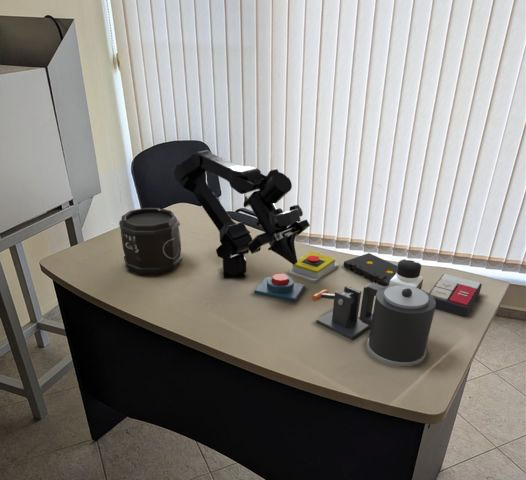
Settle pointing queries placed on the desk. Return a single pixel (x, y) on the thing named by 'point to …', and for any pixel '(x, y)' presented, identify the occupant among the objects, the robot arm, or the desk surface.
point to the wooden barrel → (151, 241)
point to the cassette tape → (372, 268)
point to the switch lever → (331, 295)
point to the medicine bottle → (408, 274)
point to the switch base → (344, 315)
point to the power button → (280, 279)
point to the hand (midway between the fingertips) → (295, 263)
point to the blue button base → (280, 289)
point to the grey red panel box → (455, 294)
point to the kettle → (397, 322)
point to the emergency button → (313, 266)
